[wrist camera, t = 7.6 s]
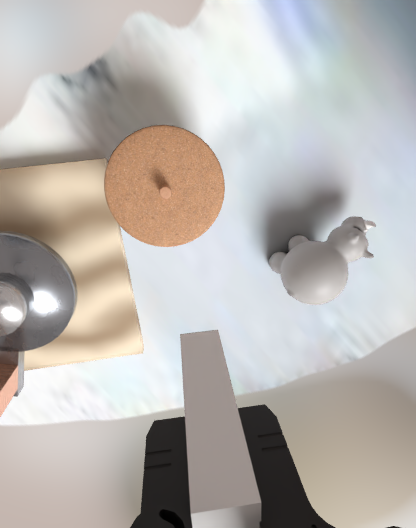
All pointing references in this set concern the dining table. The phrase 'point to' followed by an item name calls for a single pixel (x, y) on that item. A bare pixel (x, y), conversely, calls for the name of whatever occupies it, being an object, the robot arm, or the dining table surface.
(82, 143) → the dining table surface
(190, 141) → the lidded jar
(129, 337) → the flange base
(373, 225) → the round bodied animal figurine
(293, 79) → the dining table surface
